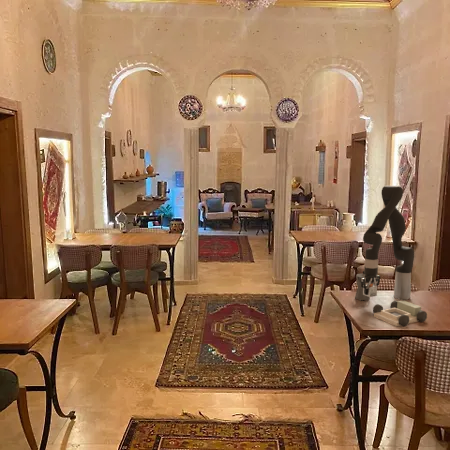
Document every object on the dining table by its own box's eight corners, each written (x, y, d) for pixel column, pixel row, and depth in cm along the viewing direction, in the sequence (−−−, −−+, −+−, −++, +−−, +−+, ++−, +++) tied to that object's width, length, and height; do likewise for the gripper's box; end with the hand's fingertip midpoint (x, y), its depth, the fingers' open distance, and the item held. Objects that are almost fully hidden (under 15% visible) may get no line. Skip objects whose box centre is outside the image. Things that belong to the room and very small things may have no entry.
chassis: (398, 309, 261) (399, 298, 260) (427, 320, 244) (428, 308, 243) (371, 315, 251) (371, 303, 250) (399, 327, 233) (400, 314, 232)
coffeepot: (362, 302, 273) (364, 274, 270) (349, 298, 281) (351, 271, 278) (376, 297, 283) (378, 270, 280) (364, 294, 290) (365, 267, 287)
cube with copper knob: (369, 293, 266) (370, 281, 265) (376, 295, 261) (377, 284, 260) (362, 294, 263) (363, 283, 262) (369, 297, 259) (370, 285, 257)
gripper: (375, 263, 266) (373, 290, 269) (357, 266, 259) (356, 293, 262) (384, 266, 259) (383, 293, 262) (366, 269, 253) (365, 297, 256)
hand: (369, 293), depth 262 cm, fingers closed on cube with copper knob, 5 cm apart
